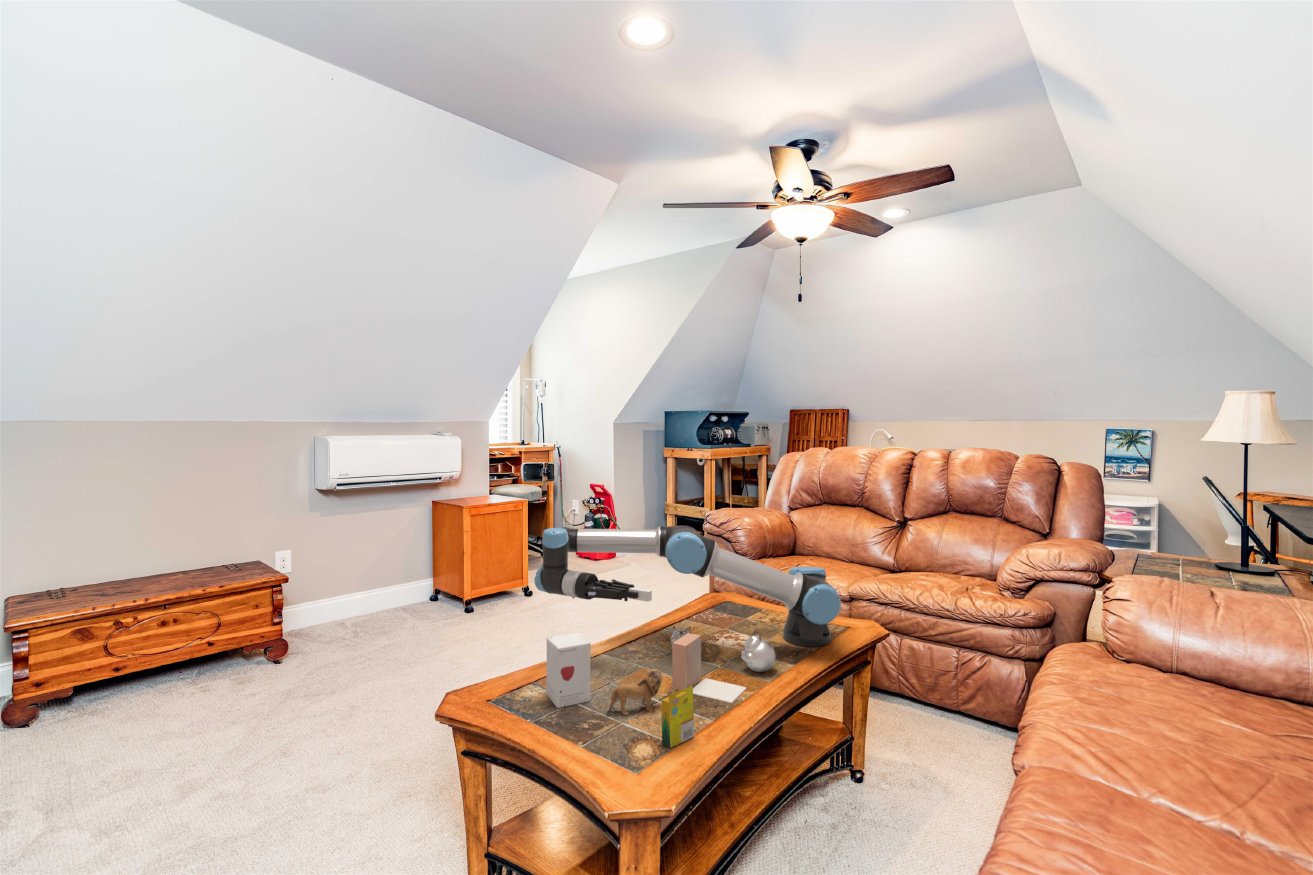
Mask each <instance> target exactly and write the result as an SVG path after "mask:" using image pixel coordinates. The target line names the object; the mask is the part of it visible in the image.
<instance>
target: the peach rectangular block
mask: <svg viewBox="0 0 1313 875" xmlns="http://www.w3.org/2000/svg"><path fill="white" fill-rule="evenodd" d="M671 649H672V650H671V651H672V652H671V653H672V654H671V656H672V657H671V659H672V660H671V663H672V665H671V668H672V671H671V672H672V678H671V680H672V685H671V686H672V687H671V688H672V690H676V691H679V690H682V689H684V688H687V687H689V686H692V685H693V687H695V686H696V685H697V683H699V682H701V681H702V635H699V634H695V633H691V634H690V633H687V634H686V635H684V636H683V637H681V638H680V639H678V640H676V641H675V642H673V643H672V646H671Z"/></svg>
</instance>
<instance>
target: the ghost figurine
mask: <svg viewBox="0 0 1313 875" xmlns="http://www.w3.org/2000/svg"><path fill="white" fill-rule="evenodd" d="M760 636H761V635H757V634H756V635H751V636H750V637H748V638H747V639H746V640H745V642H744V644H743V648H744V649H743V650H742V651H741V653H740V657H741V659H742V660H743V661H744V662H745V663H746V664H747V667H748V668H749V669H750V670H752V671H754V672H757V673H764V672H767V671H769V670H770V669H772V667H773V666H774V665H775V662H776V652H775V651H776V650H775V648H774V647H773V645H772V644H771V643H770V642H769V641H767V640H765V639H762V638H761V637H760Z"/></svg>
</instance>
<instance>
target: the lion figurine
mask: <svg viewBox="0 0 1313 875" xmlns="http://www.w3.org/2000/svg"><path fill="white" fill-rule="evenodd" d="M661 672H662V671H661V670H659V669H656V668H652V669H651V670H648V671H646V675H645V676H644V677H643V679H642V680H641V681H640V682H638V683H635V684H627V683H621V684H619V685H617V686H615V687H614V689H613V692H612V694H611V697H610V702H609V703H610V704H609V708H608V710H607V712H606V713H605V715H610V714H611V712H615V711H616V708H615V707H614V706H615V704H616V703H618V701H619V702H620V706H619V710H620V712H622V715H624V716H629V715H630V712H629V711H626V710H625V707H626V703H627V699H630V700H633V701H638V700H641V707H642V708H646V710H647V711H648V712H649V713H651V712H653V707H651V704H652V698H653V697H656V696H657V694H658V693H659V691H660V688H661V687H662V686H661V685H662V682H663V681H662V680H663V677H662V673H661Z"/></svg>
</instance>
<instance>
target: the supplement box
mask: <svg viewBox="0 0 1313 875" xmlns="http://www.w3.org/2000/svg"><path fill="white" fill-rule="evenodd" d="M591 652H592V651H591V642H590V641H589V640H588V639H587V638H585V637H584V636H583V635H582V634H581V633H579V632H575V633H568V634H560V635H555V636H550V637H547V638H546V689H545V690H546V693H545V694H546V696H547V698H549V699H550V701H551V702H552V704H554V706H555V707H556V708H557V709H559V708H564V706H565V707H569V706H575V705H578V704H582V703H583V704H584V703H588V702H590V701H591V657H592V656H591Z"/></svg>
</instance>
